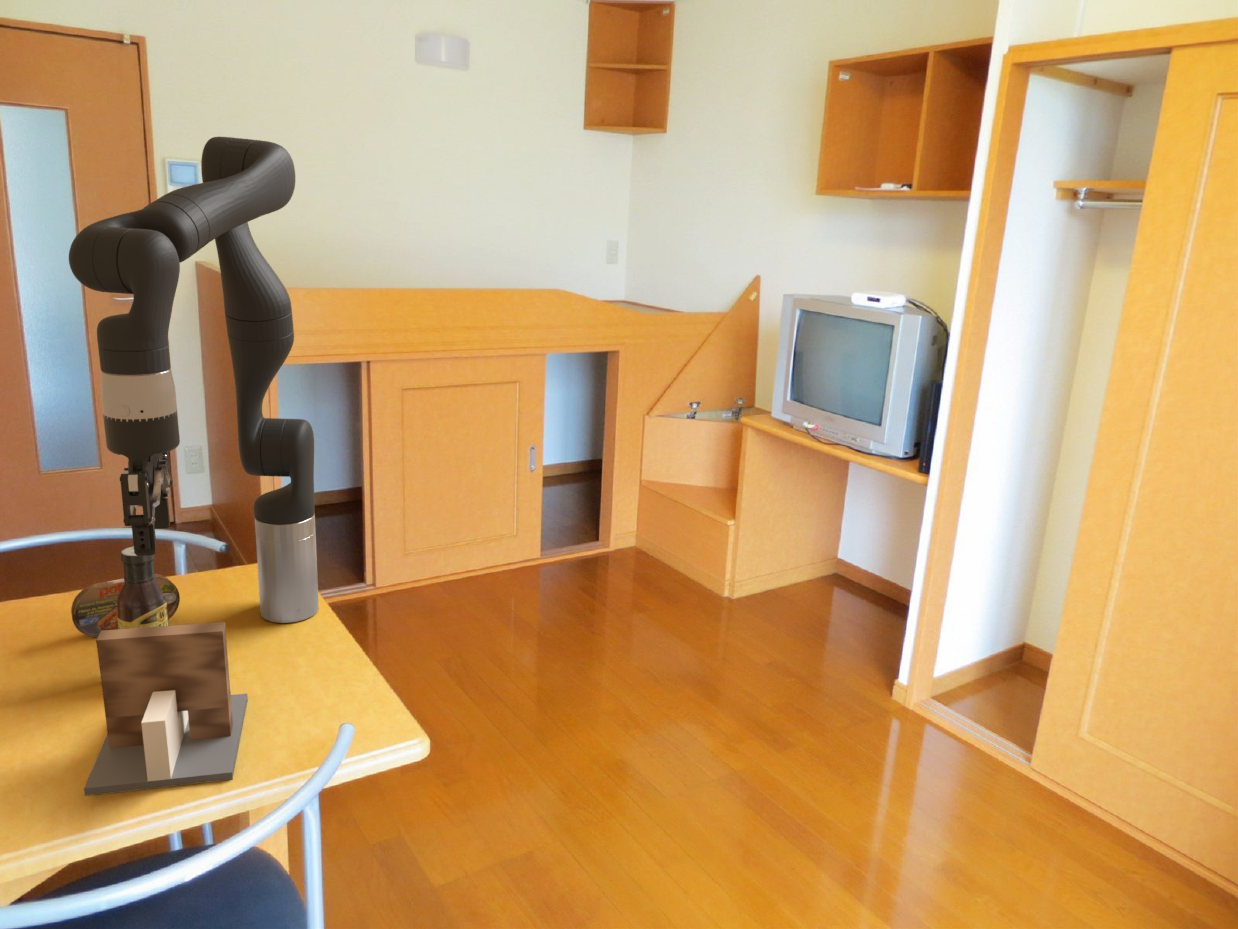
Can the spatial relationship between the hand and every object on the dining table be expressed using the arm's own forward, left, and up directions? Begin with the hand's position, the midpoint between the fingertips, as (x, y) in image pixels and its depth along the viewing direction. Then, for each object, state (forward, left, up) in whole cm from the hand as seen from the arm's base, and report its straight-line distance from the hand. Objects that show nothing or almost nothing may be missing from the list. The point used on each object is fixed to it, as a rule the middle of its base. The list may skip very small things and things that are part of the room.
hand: (153, 540), depth 108 cm
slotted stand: (0, 0, -28) cm, 28 cm away
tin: (-34, -12, -28) cm, 46 cm away
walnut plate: (0, 0, -27) cm, 27 cm away
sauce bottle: (-17, -6, -28) cm, 33 cm away
